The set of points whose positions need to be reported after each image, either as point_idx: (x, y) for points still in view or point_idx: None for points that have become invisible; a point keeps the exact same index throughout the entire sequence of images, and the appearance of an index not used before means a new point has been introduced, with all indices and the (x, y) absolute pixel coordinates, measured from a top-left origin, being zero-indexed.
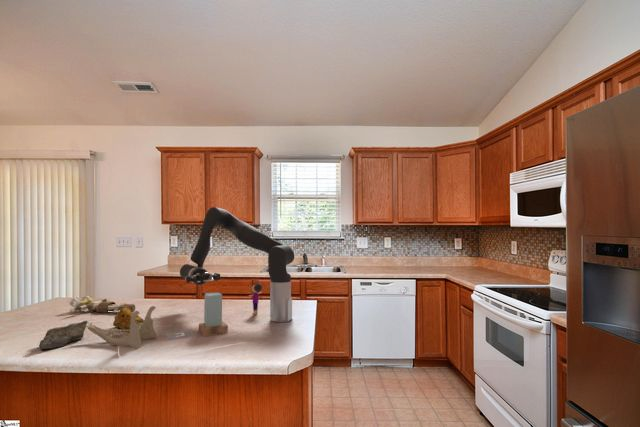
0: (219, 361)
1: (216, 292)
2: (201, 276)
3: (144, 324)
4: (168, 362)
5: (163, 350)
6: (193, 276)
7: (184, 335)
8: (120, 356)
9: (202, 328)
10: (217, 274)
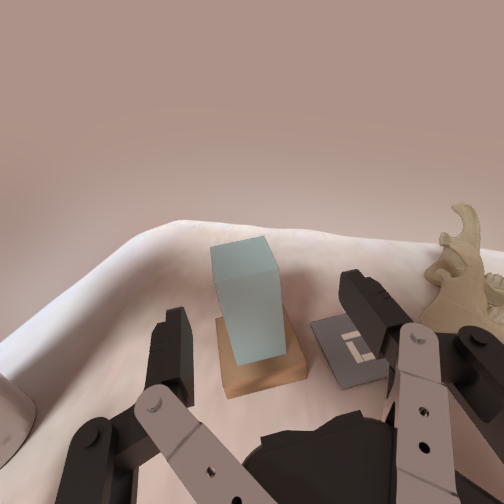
0: (255, 229)
1: (223, 279)
2: (335, 421)
3: (476, 295)
4: (329, 233)
5: (360, 268)
6: (418, 347)
7: (342, 334)
8: (437, 257)
9: (288, 320)
10: (113, 436)
